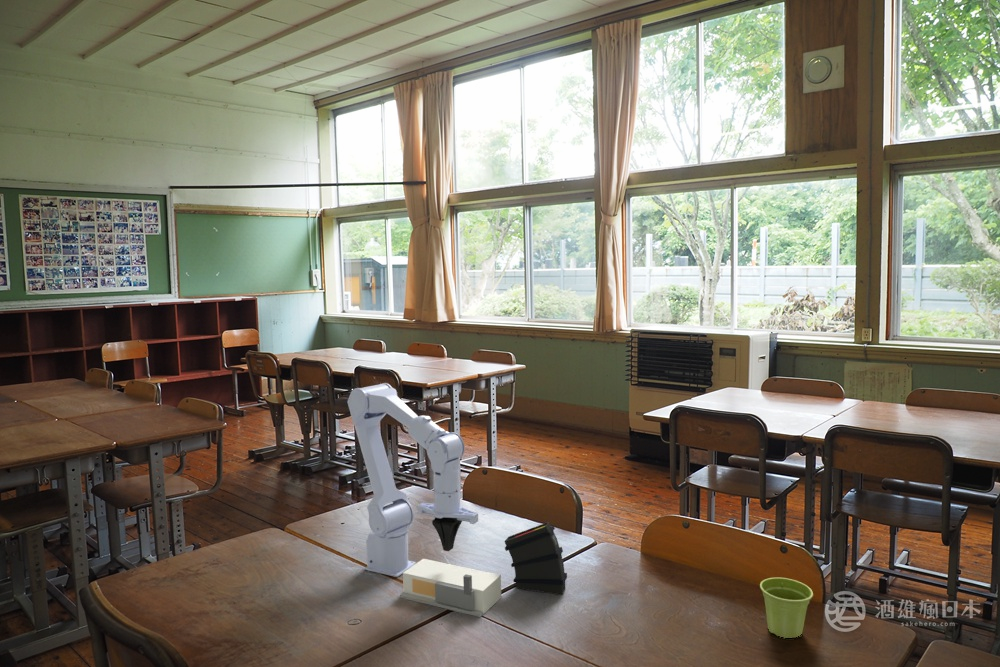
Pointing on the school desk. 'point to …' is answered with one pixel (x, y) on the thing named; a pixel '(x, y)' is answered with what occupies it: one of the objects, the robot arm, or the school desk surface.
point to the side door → (456, 594)
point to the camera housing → (429, 572)
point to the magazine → (537, 560)
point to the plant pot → (785, 605)
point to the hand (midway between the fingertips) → (448, 549)
